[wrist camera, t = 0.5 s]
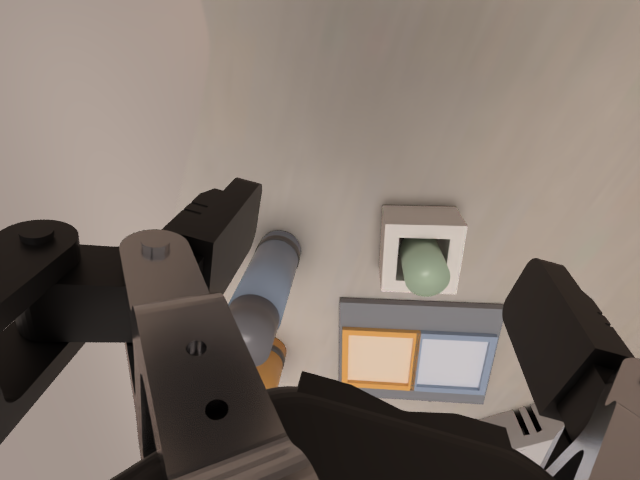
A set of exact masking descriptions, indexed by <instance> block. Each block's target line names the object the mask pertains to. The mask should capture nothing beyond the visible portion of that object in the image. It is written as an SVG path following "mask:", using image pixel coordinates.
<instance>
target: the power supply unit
mask: <svg viewBox="0 0 640 480" xmlns="http://www.w3.org/2000/svg"><path fill="white" fill-rule="evenodd" d="M530 405H531V407H532V410H533V412H534V414H535V416H536V418H537V420H538V422H539V423H538V424H539V426H540V428H541V430H542V431H540V432H538V433H537V431H536V429H535V427H534V425H533V423H532V420H531V418H530V416H529V414H528V412H527V410H526V408H525V407H520V408H519V410H520V413H521V415H522V417H523V420H524V422H525V424H526V427H527V429H528V431H529V433H530V435H526V434H525V431H524V429H522V430H521V427H520V425H519V423H518V420H517V418H516V416H515V413H514V411H513V410H510V411H507V412H503V413H500V414H496V415H493V416H489V417H486V418H482V419H479V420H480V421H484V422H488V423H491V424H495V425H498V426H502V427H506V429H507V433H508V436H509V440H510V443H511V447H512V448H513V449H515V450H517V451H519V452H520V453H522V454H524V455H525V456H527V457H528V458H530V459H531V460H533V461H534V462H535V463H537V464H538V465H539V466H540V465H541V463H542V461H543V459H544V457H545V455H546V453H547V451H548V449H549V447H550V445H551V443H552V442H553V440H554V438H555V436H556V434H557V433H558V432H559V431H560V430H561V429H562V428H563V426H564V423H563V422H561V421H558V420H554V419H550V418H547V417H543V416H540V415H539V413H538V410H537V408H536V405H535V403H533V404H530Z"/></svg>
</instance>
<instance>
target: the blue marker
mask: <svg viewBox="0 0 640 480" xmlns="http://www.w3.org/2000/svg"><path fill="white" fill-rule="evenodd" d="M300 255H301V247H300V244H299V242H298V240H297V239H296V238H295V237H294V236H293V235H292V234H290V233H288V232H285V231H272V232H270V233H268V234H266V235H265V236H264V237H263V239H262V240H261V242H260V243H259V245H258V247H257V249H256V251H255V254H254V256H253V258H252V260H251V262H250V263H249V265H248V267H247V269H246V271H245V273H244V275H243V277H242V279H241V281H240V283H239V285H238V287H237V289H236V290H235V292H234V294H233V296H232V298H231V300H230V302H229V304H228V306H229V308H230V310H231V313H232V315H233V317H234V319H235V321H236V324H237V326H238V328H239V330H240V332H241V335H242V337H243V339H244V341H245V343H246V346H247V348H248V350H249V352H250V355H251V357H252V359H253V361H254V363H255V366H256V367H257V366H260V365H261V364H263V363H264V362H265V361H266V360H267V359H268V357H269V355H270V352H271V349H272V345H273V342H274V339H275V335H276V332H277V330H278V328H279V326H280V324H281V320H282V317H283V313H284V310H285V306H286V303H287V300H288V296H289V293H290V289H291V286H292V282H293V279H294V275H295V272H296V269H297V267H298V264H299V260H300Z"/></svg>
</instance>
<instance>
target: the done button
mask: <svg viewBox="0 0 640 480" xmlns="http://www.w3.org/2000/svg"><path fill="white" fill-rule="evenodd" d="M399 254H400V259H401V264H402V269H403V275H404V280H405V284H406V286H407V288H408V289H409V290H410V291H411V292H412V293H414V294H416V295H418V296H423V297H429V296H434V295H437V294H439V293H441V292H442V291H443V290H444V289H445V288H446V287H447V286H448V284H449V282H450V271H449V269H448V266H447V264H446V261H445V259H444V256H443V254H442V252H441V249H440V247H439V244H438V242H437V240H436V239H425V238H405V239H404V240H403V241H402V242H401V244H400V247H399Z"/></svg>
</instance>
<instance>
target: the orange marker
mask: <svg viewBox="0 0 640 480" xmlns="http://www.w3.org/2000/svg"><path fill="white" fill-rule="evenodd" d="M285 356H286V348H285V346H284V344H283V343H282V342H281V341H280V340H278V339H277V338H275V339H274V342H273V345H272V349H271V352H270V355H269V357H268V359H267V360H266V361H265V362H264V363H263V364H261V365H260V366H257V367H256V368H257V370H258V372H259V374H260V377H261V379H262V381H263V383H264V385H265V388H266V389H269V388H275V387H278V384H279V380H280V376H281V372H282V369H283V366H284V362H285Z"/></svg>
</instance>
